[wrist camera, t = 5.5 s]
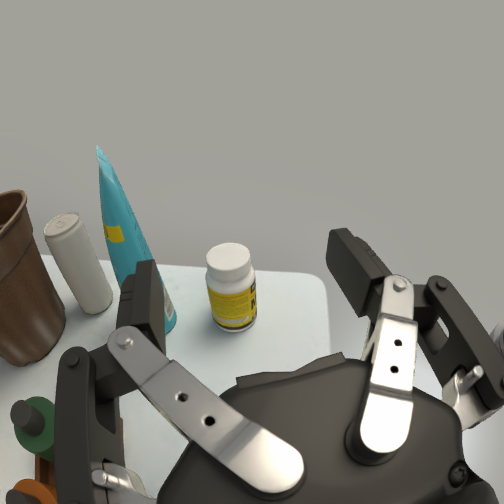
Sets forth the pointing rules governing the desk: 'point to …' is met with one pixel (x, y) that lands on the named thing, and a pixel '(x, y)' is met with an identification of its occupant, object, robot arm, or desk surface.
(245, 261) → the supplement bottle
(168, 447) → the desk surface
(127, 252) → the tube
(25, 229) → the plant pot
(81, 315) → the desk surface
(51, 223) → the beverage can
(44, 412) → the green bottle
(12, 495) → the amber bottle
